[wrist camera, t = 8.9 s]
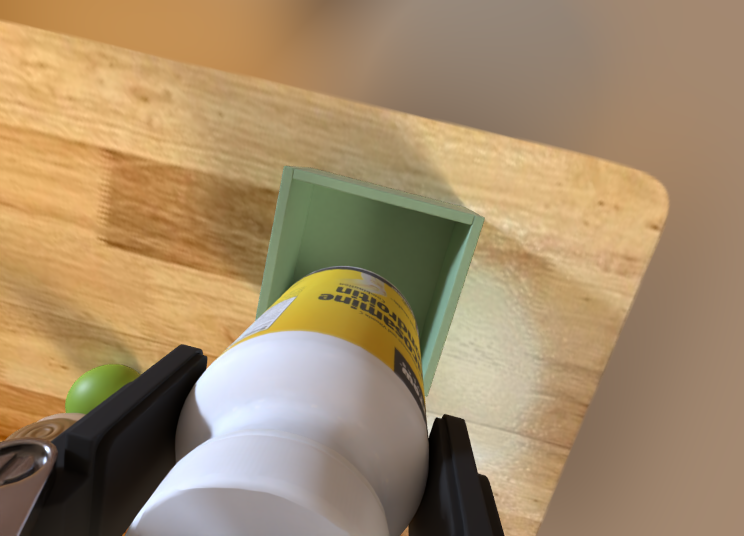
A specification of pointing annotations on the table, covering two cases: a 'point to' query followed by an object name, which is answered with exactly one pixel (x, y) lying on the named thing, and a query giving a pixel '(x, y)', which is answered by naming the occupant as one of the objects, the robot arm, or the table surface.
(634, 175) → the table surface
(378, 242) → the tub
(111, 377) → the snail figurine
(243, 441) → the pill bottle
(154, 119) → the table surface
